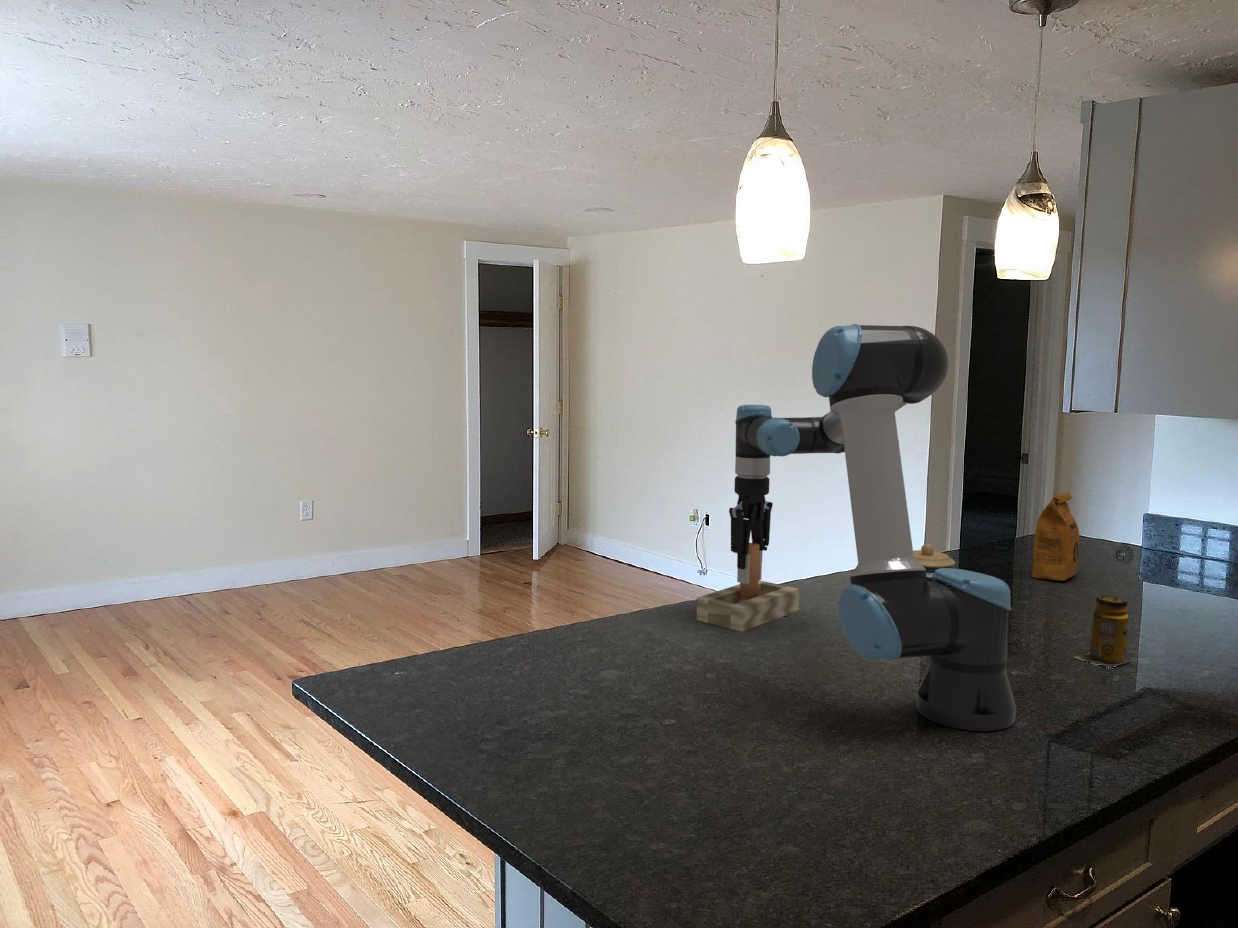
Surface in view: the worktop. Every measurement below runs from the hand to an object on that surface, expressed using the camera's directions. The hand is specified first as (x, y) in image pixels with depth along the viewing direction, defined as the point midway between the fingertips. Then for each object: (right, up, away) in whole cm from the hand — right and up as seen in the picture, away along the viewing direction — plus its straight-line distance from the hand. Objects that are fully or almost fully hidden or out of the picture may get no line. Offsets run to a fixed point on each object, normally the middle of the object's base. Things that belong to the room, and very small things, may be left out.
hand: (749, 580), depth 201 cm
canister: (+37, -9, -5) cm, 38 cm away
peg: (0, -4, +1) cm, 4 cm away
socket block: (0, -8, +1) cm, 8 cm away
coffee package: (+85, -4, +37) cm, 93 cm away
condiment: (+64, -12, -27) cm, 70 cm away
